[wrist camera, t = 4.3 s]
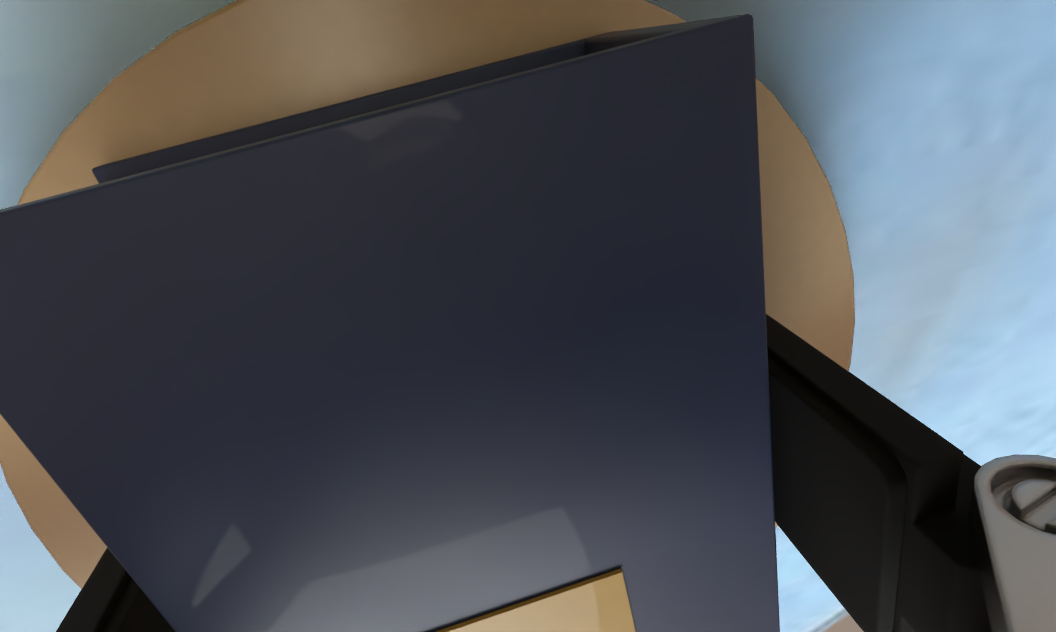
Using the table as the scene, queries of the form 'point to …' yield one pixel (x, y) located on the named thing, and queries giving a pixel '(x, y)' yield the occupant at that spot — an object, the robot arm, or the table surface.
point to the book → (420, 320)
